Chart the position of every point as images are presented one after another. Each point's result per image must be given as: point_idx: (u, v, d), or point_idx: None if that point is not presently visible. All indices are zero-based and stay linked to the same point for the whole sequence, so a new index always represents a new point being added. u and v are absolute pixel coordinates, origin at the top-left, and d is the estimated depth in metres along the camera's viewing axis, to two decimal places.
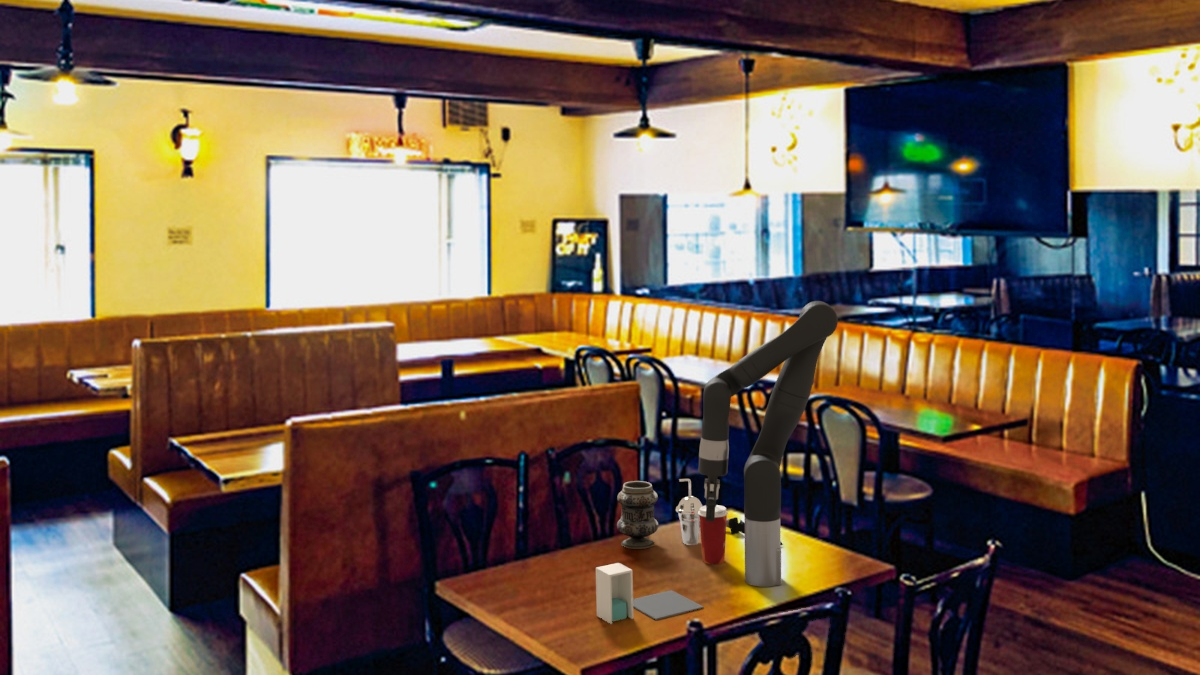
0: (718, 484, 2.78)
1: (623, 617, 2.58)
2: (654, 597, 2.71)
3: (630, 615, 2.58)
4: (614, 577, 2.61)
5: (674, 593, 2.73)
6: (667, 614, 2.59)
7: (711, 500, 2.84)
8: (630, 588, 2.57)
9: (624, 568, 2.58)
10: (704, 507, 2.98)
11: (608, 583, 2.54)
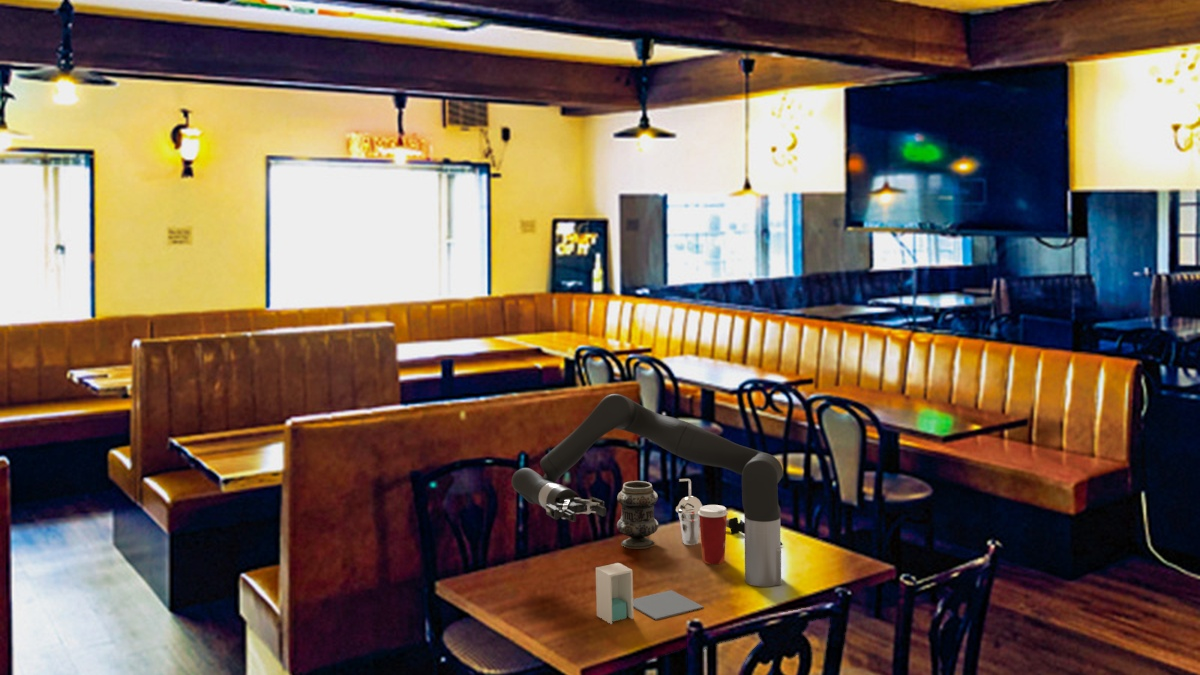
0: None
1: (623, 617, 2.58)
2: (654, 597, 2.71)
3: (630, 615, 2.58)
4: (614, 577, 2.61)
5: (674, 593, 2.73)
6: (667, 614, 2.59)
7: (596, 509, 2.71)
8: (630, 588, 2.57)
9: (624, 568, 2.58)
10: (704, 507, 2.98)
11: (608, 583, 2.54)
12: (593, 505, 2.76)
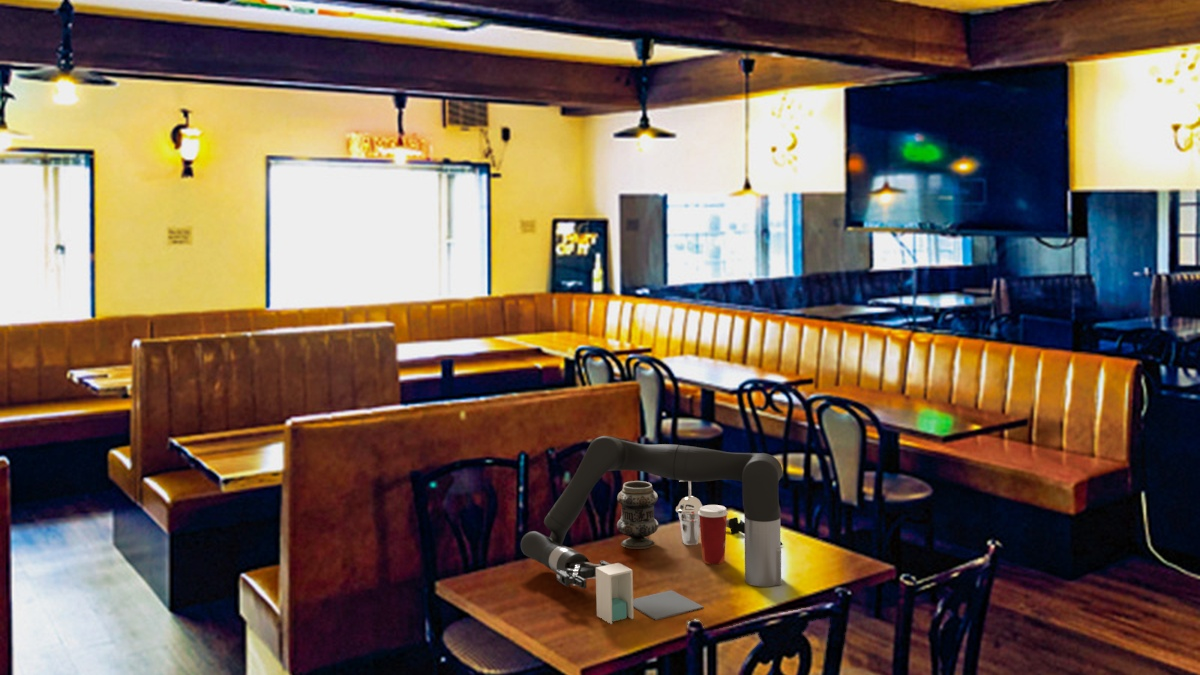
0: None
1: (623, 617, 2.58)
2: (654, 597, 2.71)
3: (630, 615, 2.58)
4: (614, 577, 2.61)
5: (674, 593, 2.73)
6: (667, 614, 2.59)
7: None
8: (630, 588, 2.57)
9: (624, 568, 2.58)
10: (704, 507, 2.98)
11: (608, 583, 2.54)
12: None
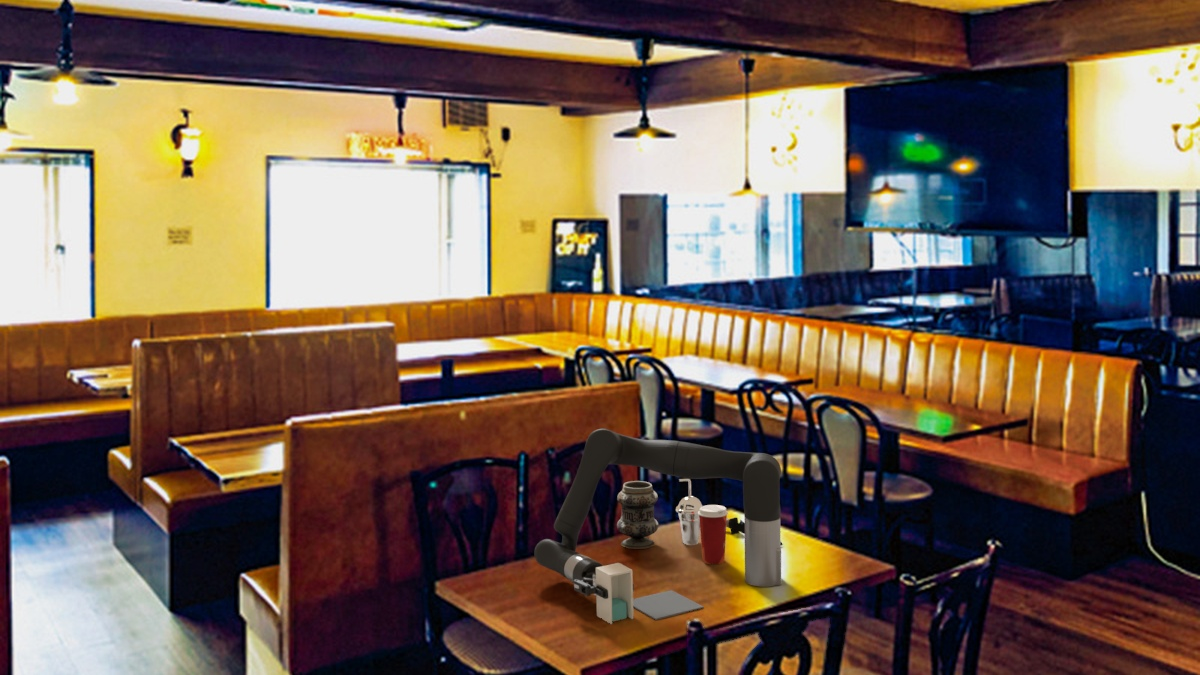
0: (592, 575, 2.63)
1: (623, 617, 2.58)
2: (654, 597, 2.71)
3: (630, 615, 2.58)
4: (614, 577, 2.61)
5: (674, 593, 2.73)
6: (667, 614, 2.59)
7: None
8: (630, 588, 2.57)
9: (624, 568, 2.58)
10: (704, 507, 2.98)
11: (608, 583, 2.54)
12: None
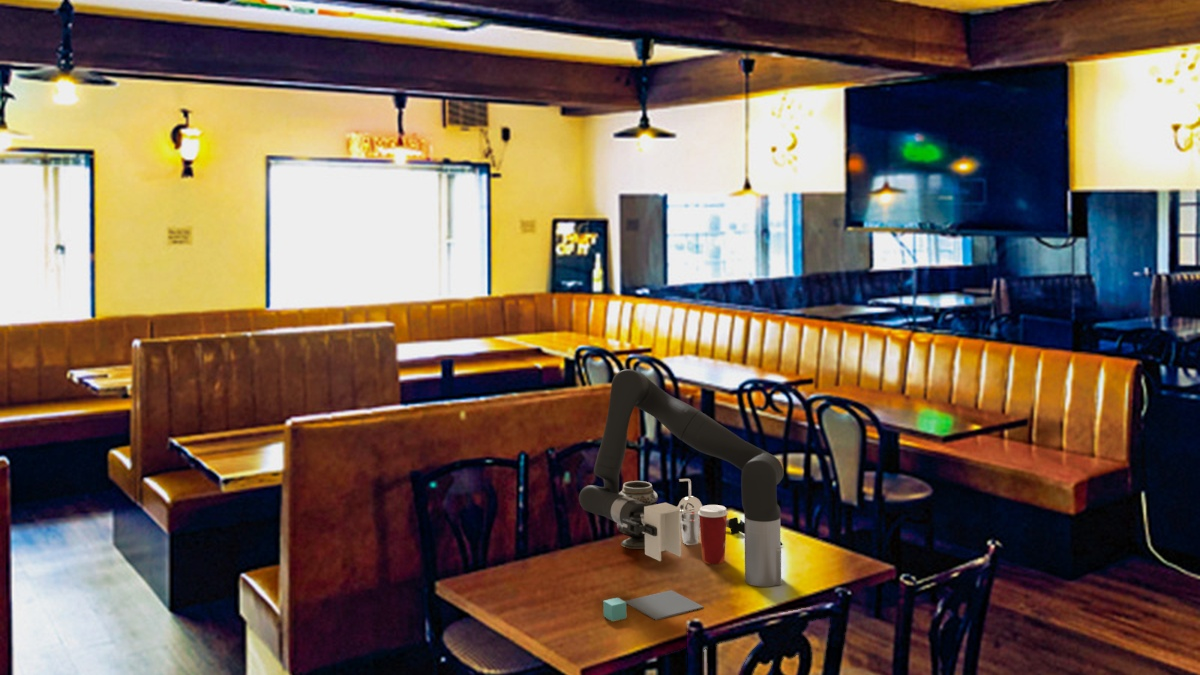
0: (640, 515, 2.69)
1: (623, 617, 2.58)
2: (654, 597, 2.71)
3: (678, 553, 2.63)
4: (662, 516, 2.67)
5: (674, 593, 2.73)
6: (667, 614, 2.59)
7: None
8: (678, 526, 2.63)
9: (672, 507, 2.63)
10: (704, 507, 2.98)
11: (657, 521, 2.59)
12: None
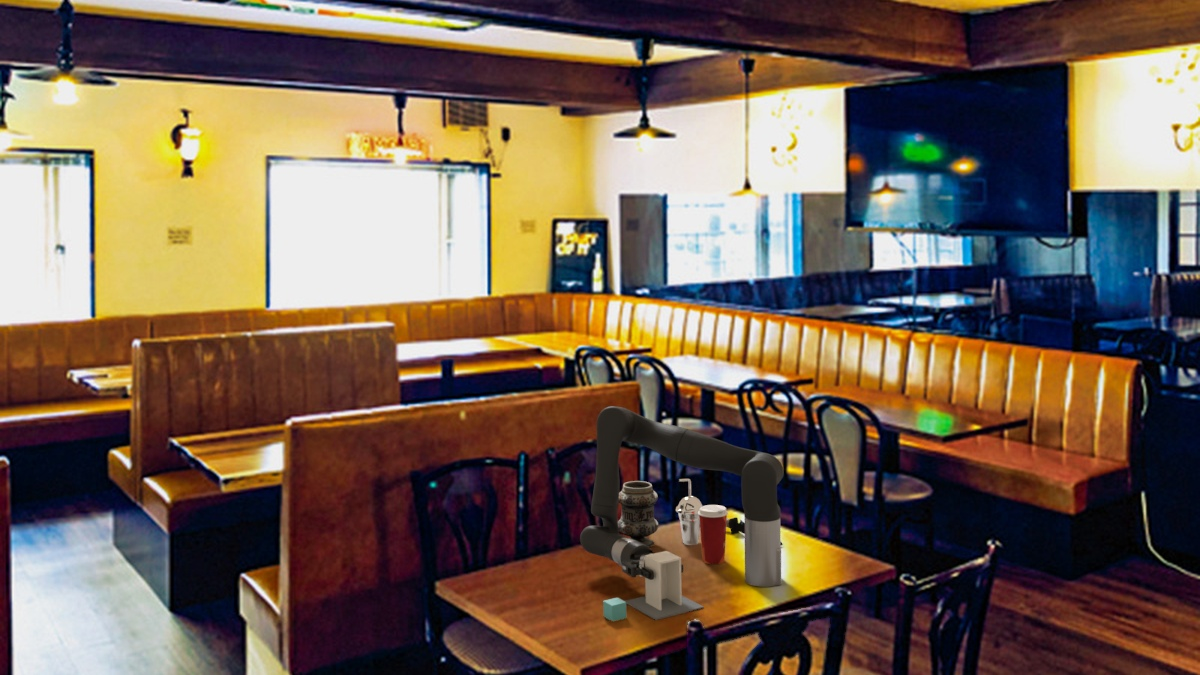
0: None
1: (623, 617, 2.58)
2: None
3: (678, 602, 2.65)
4: (662, 565, 2.68)
5: None
6: (667, 614, 2.59)
7: None
8: (679, 575, 2.64)
9: (673, 556, 2.65)
10: (704, 507, 2.98)
11: (658, 570, 2.61)
12: None
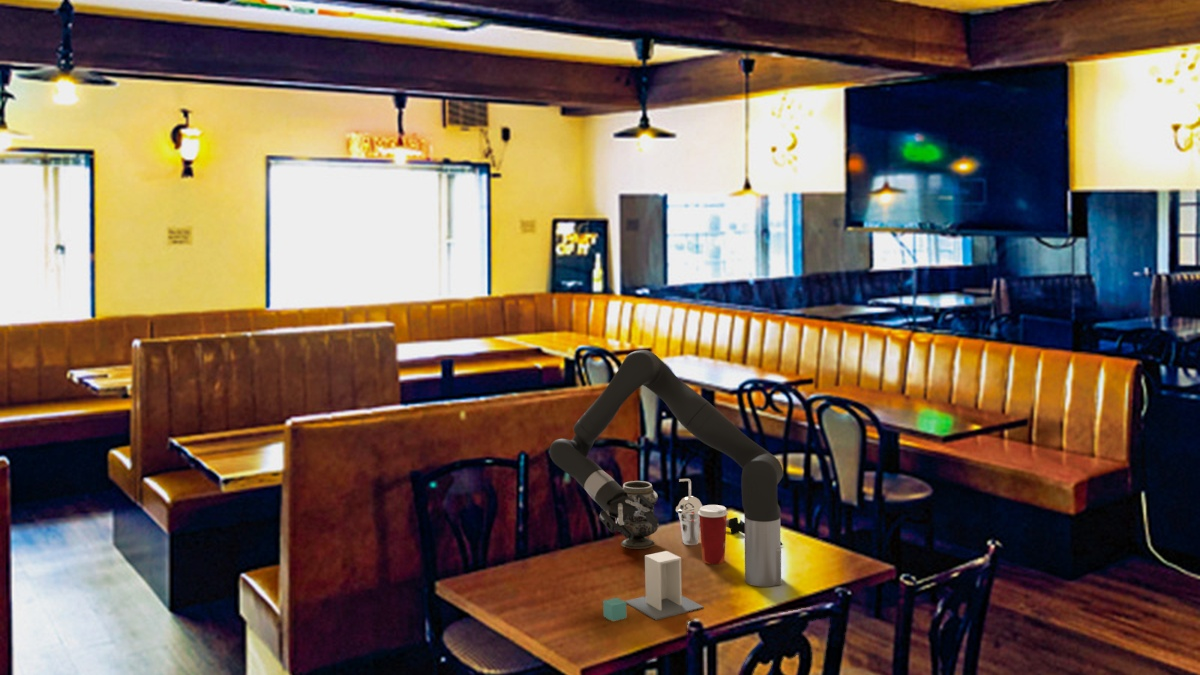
0: (617, 506, 2.79)
1: (623, 617, 2.58)
2: None
3: (678, 602, 2.65)
4: (662, 565, 2.68)
5: None
6: (667, 614, 2.59)
7: (647, 516, 2.80)
8: (679, 575, 2.64)
9: (673, 556, 2.65)
10: (704, 507, 2.98)
11: (658, 570, 2.61)
12: (640, 503, 2.84)
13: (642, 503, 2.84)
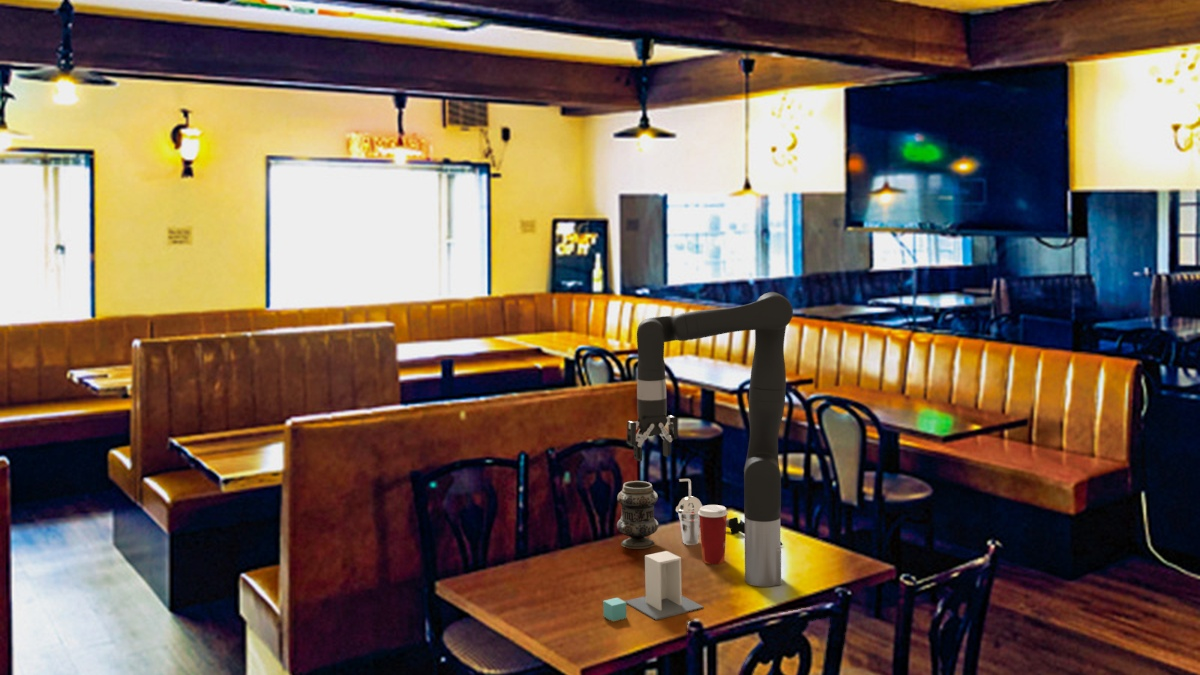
0: (649, 425, 2.76)
1: (623, 617, 2.58)
2: None
3: (678, 602, 2.65)
4: (662, 565, 2.68)
5: None
6: (667, 614, 2.59)
7: (665, 444, 2.81)
8: (679, 575, 2.64)
9: (673, 556, 2.65)
10: (704, 507, 2.98)
11: (658, 570, 2.61)
12: None
13: (671, 427, 2.81)
